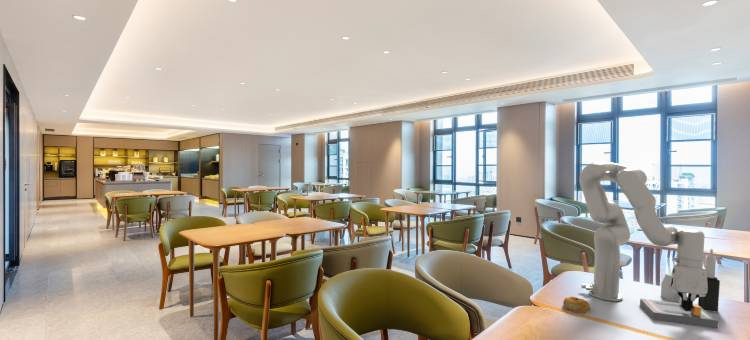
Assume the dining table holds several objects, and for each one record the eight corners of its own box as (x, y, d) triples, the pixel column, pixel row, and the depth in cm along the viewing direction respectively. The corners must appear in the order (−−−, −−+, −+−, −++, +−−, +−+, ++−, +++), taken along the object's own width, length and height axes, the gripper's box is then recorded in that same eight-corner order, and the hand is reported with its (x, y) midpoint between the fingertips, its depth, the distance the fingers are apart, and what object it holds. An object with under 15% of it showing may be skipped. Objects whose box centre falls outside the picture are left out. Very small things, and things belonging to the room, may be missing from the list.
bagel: (595, 309, 150) (595, 297, 150) (583, 316, 143) (584, 304, 143) (569, 301, 158) (570, 290, 157) (558, 308, 151) (558, 297, 150)
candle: (719, 311, 149) (723, 251, 148) (704, 310, 150) (708, 250, 149) (710, 306, 154) (714, 248, 153) (696, 305, 155) (700, 247, 154)
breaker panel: (653, 319, 141) (654, 303, 140) (639, 305, 154) (640, 290, 154) (718, 328, 134) (719, 311, 134) (698, 312, 148) (699, 296, 147)
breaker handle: (694, 315, 138) (694, 306, 138) (690, 312, 141) (690, 303, 140) (700, 316, 137) (701, 307, 137) (696, 312, 140) (697, 304, 140)
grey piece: (674, 302, 158) (675, 279, 158) (660, 296, 165) (662, 274, 164) (682, 302, 159) (683, 279, 158) (668, 295, 165) (669, 274, 165)
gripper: (670, 262, 137) (667, 310, 138) (719, 267, 133) (716, 317, 134) (661, 257, 145) (659, 303, 145) (708, 261, 140) (705, 308, 141)
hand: (686, 309), depth 140 cm, fingers closed
